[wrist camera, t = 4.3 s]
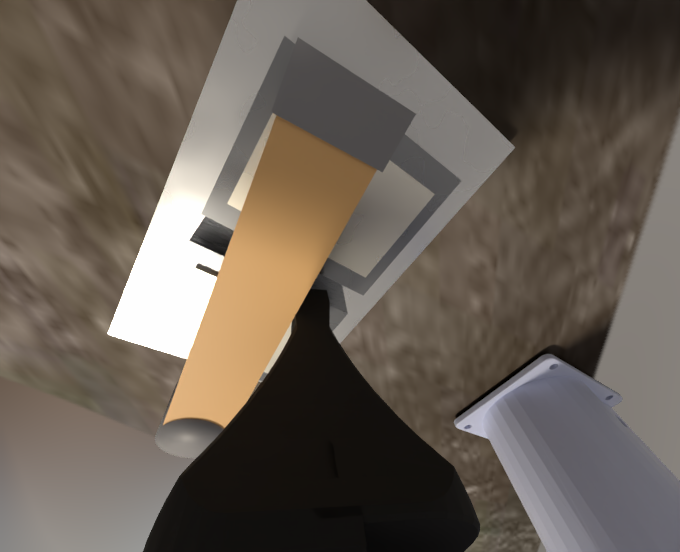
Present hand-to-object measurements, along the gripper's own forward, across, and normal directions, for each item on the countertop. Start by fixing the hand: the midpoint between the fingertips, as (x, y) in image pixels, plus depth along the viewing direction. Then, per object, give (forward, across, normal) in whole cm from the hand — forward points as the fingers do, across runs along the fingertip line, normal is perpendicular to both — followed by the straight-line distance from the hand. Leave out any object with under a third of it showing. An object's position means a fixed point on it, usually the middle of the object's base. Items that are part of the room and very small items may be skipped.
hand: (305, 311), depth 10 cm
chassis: (+3, +1, -1) cm, 3 cm away
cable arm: (0, +2, -1) cm, 2 cm away
